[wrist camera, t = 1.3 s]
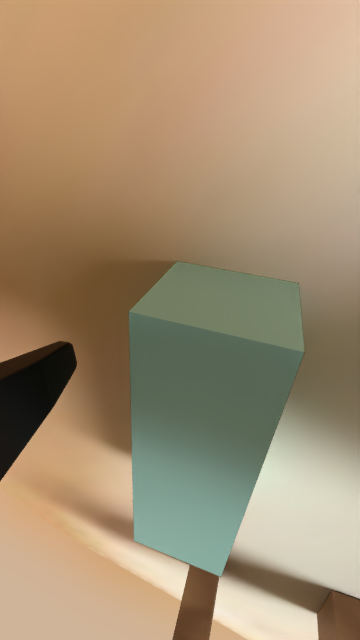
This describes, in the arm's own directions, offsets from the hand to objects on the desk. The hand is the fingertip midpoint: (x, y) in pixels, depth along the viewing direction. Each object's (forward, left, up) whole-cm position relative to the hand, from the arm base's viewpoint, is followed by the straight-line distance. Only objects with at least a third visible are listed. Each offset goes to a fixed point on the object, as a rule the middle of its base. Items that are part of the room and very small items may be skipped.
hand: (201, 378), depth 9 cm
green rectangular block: (0, +3, -3) cm, 4 cm away
